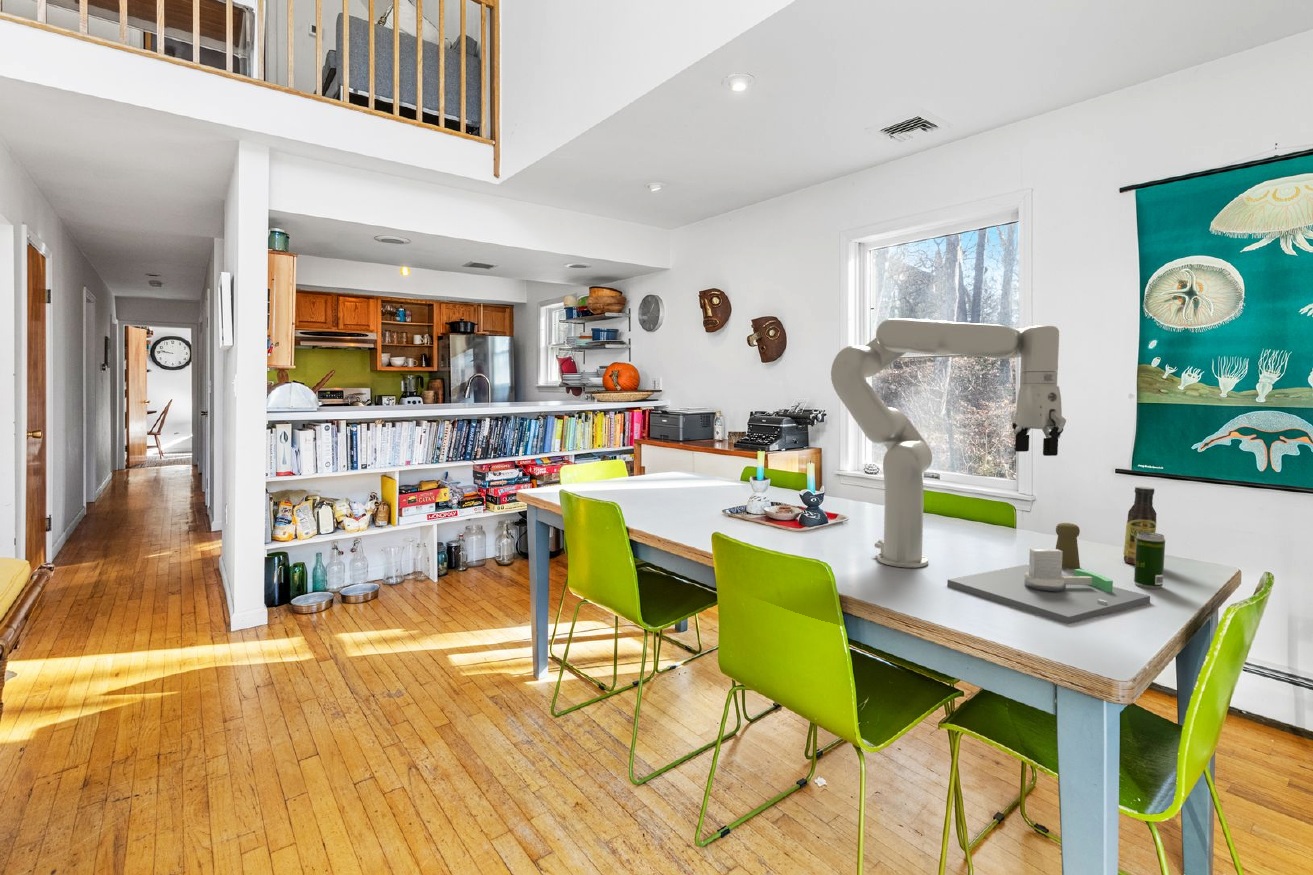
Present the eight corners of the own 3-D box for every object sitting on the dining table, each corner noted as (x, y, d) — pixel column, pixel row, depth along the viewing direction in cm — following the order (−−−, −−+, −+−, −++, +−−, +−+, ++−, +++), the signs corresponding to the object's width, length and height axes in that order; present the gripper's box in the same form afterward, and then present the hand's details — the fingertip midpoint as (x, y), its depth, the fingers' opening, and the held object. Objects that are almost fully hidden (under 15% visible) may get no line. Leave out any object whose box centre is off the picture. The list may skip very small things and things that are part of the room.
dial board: (947, 585, 154) (947, 569, 154) (1025, 570, 166) (1026, 555, 166) (1068, 624, 129) (1069, 604, 129) (1149, 602, 141) (1150, 584, 141)
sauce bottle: (1126, 565, 171) (1130, 488, 169) (1120, 559, 177) (1124, 485, 175) (1157, 567, 168) (1161, 489, 167) (1149, 561, 174) (1154, 486, 173)
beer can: (1167, 587, 152) (1170, 535, 151) (1154, 590, 150) (1157, 538, 149) (1142, 581, 157) (1144, 530, 156) (1128, 584, 155) (1131, 533, 154)
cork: (1084, 569, 167) (1086, 526, 166) (1057, 568, 168) (1059, 525, 167) (1074, 563, 173) (1076, 521, 172) (1048, 562, 174) (1050, 520, 173)
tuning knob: (1035, 591, 144) (1037, 554, 143) (1017, 580, 152) (1018, 545, 151) (1102, 591, 143) (1103, 554, 142) (1079, 580, 151) (1081, 545, 150)
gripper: (1081, 379, 146) (1077, 457, 147) (1028, 380, 163) (1025, 449, 164) (1049, 379, 145) (1046, 457, 146) (1000, 380, 162) (997, 450, 164)
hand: (1035, 453), depth 155 cm, fingers open, 9 cm apart
